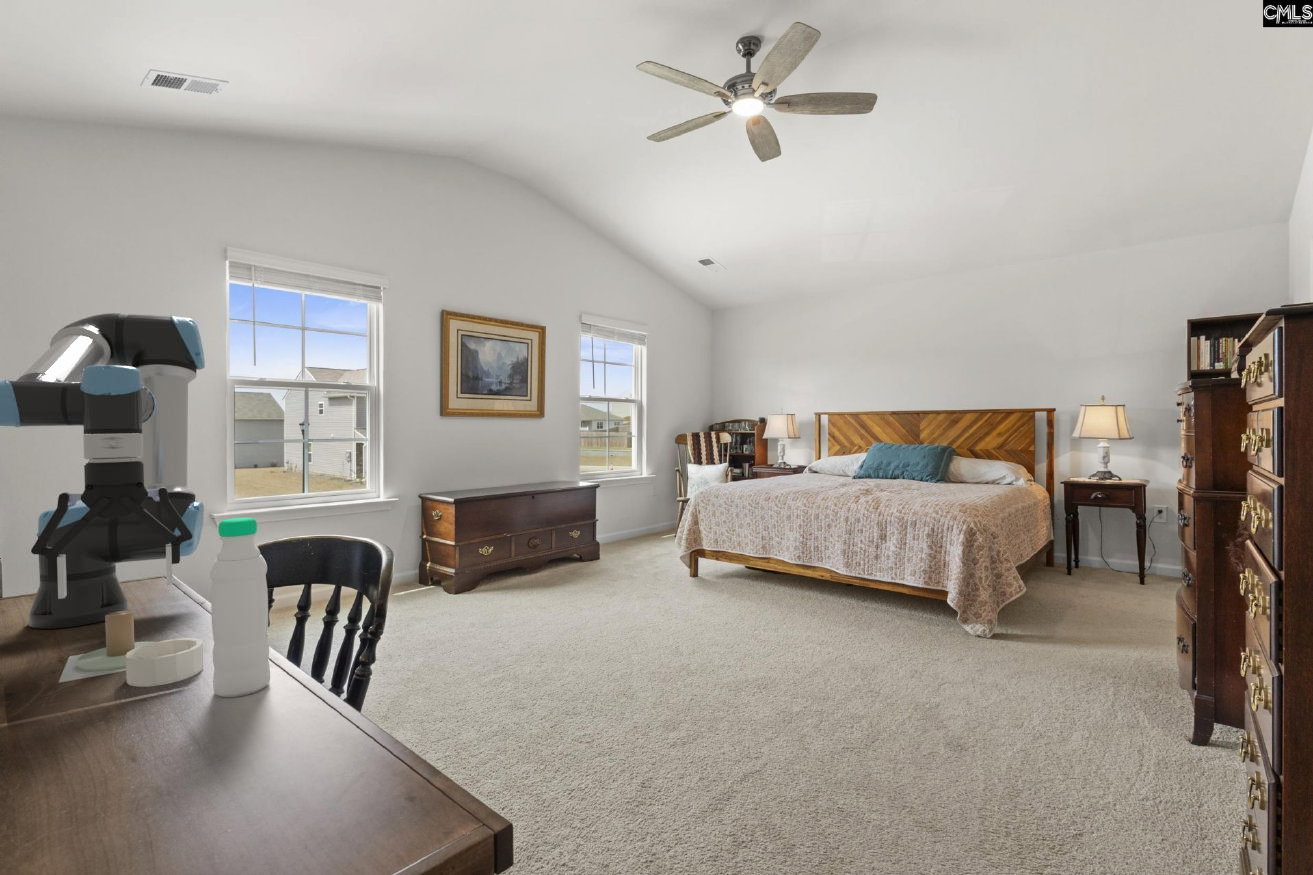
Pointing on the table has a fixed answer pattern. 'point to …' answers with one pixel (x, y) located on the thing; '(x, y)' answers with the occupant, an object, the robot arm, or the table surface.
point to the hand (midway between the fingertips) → (118, 590)
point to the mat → (74, 674)
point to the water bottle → (239, 612)
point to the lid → (112, 644)
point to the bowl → (164, 662)
